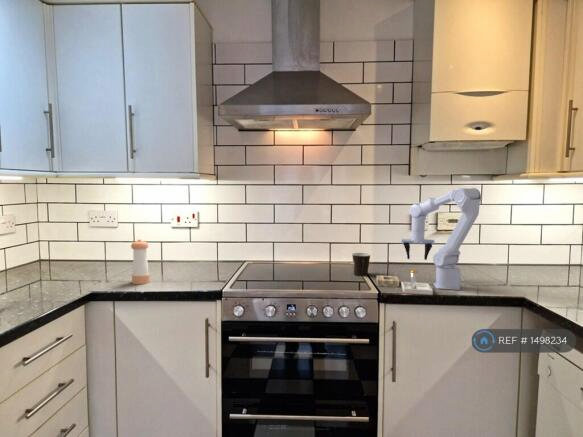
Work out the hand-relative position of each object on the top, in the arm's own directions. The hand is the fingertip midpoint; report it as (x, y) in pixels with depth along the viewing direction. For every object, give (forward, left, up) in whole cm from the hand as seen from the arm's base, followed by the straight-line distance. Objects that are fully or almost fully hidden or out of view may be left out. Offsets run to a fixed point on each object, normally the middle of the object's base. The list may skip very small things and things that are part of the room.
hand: (416, 259), depth 173 cm
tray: (+3, +20, -9) cm, 22 cm away
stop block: (+14, +12, -9) cm, 20 cm away
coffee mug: (+26, -2, -10) cm, 28 cm away
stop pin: (+4, +20, -9) cm, 22 cm away
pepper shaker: (+122, +31, -10) cm, 126 cm away
